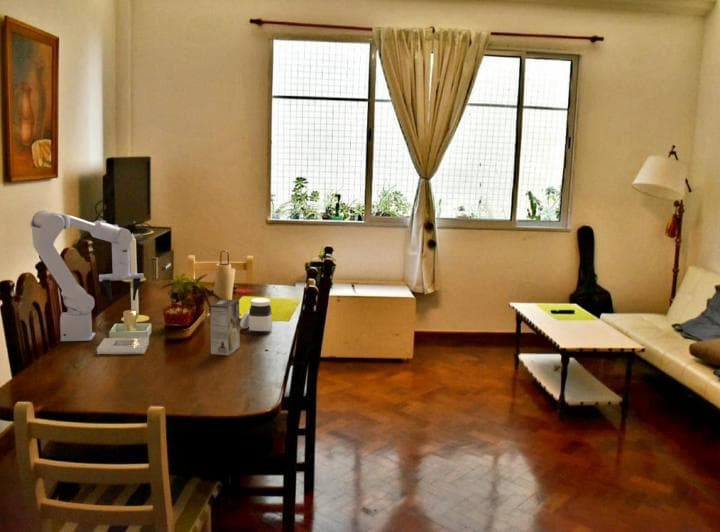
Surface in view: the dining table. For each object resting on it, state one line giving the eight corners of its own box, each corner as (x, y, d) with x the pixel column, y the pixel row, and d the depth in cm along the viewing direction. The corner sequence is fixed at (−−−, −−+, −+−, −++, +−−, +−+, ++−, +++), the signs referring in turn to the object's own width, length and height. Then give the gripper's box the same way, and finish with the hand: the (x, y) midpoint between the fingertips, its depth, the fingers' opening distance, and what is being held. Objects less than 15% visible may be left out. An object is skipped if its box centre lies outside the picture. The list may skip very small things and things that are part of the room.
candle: (119, 317, 251) (116, 231, 245) (147, 314, 255) (145, 230, 249) (122, 323, 242) (119, 235, 236) (151, 321, 247) (148, 234, 241)
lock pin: (123, 336, 225) (122, 313, 224) (125, 333, 229) (124, 310, 228) (136, 335, 226) (135, 312, 225) (137, 332, 230) (136, 310, 229)
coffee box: (221, 345, 221) (221, 298, 218) (240, 347, 220) (240, 299, 217) (210, 354, 212) (209, 304, 209) (229, 356, 211) (228, 306, 208)
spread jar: (268, 336, 233) (269, 304, 231) (236, 335, 233) (236, 302, 231) (274, 327, 245) (274, 296, 243) (243, 326, 245) (243, 295, 243)
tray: (109, 341, 222) (109, 332, 221) (115, 332, 232) (114, 323, 231) (147, 340, 224) (147, 331, 223) (151, 331, 234) (151, 323, 233)
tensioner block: (97, 354, 208) (96, 348, 207) (104, 344, 218) (104, 338, 218) (144, 353, 210) (143, 347, 210) (148, 343, 221) (148, 337, 220)
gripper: (98, 264, 225) (99, 304, 228) (143, 263, 230) (144, 301, 233) (98, 261, 232) (100, 299, 234) (142, 259, 237) (143, 297, 239)
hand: (122, 300), depth 234 cm, fingers open, 7 cm apart
